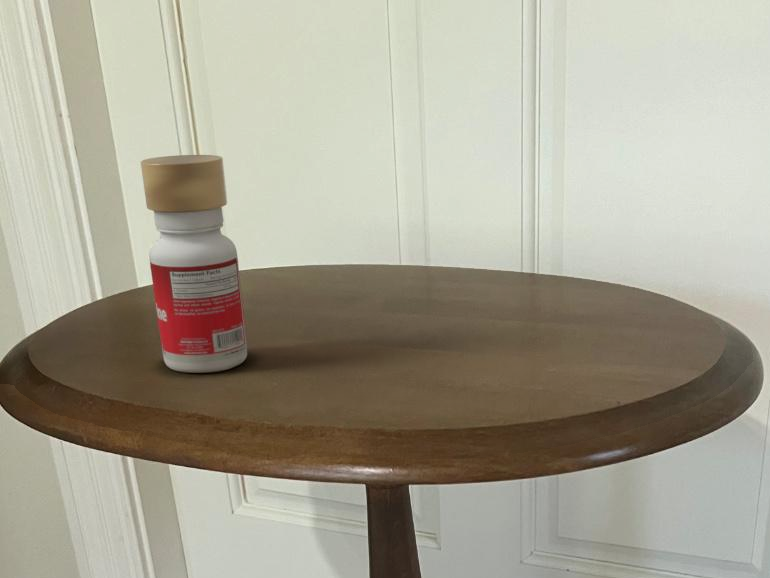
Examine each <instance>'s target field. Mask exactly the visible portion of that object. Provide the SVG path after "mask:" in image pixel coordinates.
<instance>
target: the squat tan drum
mask: <svg viewBox="0 0 770 578" xmlns="http://www.w3.org/2000/svg"><path fill="white" fill-rule="evenodd" d="M140 167H141V168H140V169H141V175H142V181H143V190H144V196H145V205H146V209H147V210H149V211H153V212H154V211H160V212H188V211H200V210H208V209H214V208H219V207H222V208H223V207H225V206H227V204H228V196H227V187H226V185H227V184H226V178H225V177H226V175H225V168H224V167H225V166H224V159H223V157H222V156H220V155H215V154H180V155H179V154H178V155H165V156H158V157H149V158H146V159H145V158H144V159H143V160H141V161H140Z"/></svg>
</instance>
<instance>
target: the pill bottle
mask: <svg viewBox="0 0 770 578" xmlns="http://www.w3.org/2000/svg"><path fill="white" fill-rule="evenodd" d="M153 218H154V225H155V227H156V228H155V229H156V231H157V232H159V234H160V237H159V238H158V239H157V240H155V241H154V242H153V244H152V245H151V247H150V248H149V253H148V257H149V268H150V274H151V280H152V287H153V288H152V289H153V294H154V301H155V308H156V313H157V314H156V316H157V323H158V329H159V336H160V337H159V338H160V344H161V350H162V351H161V352H162V357H163V361H164V364H165V366H167V368H169V369H171V370H173V371H175V372H180V373H189V374H203V373H204V374H206V373H217V372H223V371H226V370H230V369H233V368H235V367H237V366H239V365H241V364H242V363H244V361H245V360H246V359H247V357H248V344H247V333H246V326H245V318H244V308H243V298H242V297H243V296H242V288H241V278H240V268H239V258H238V257H239V256H238V252H237V251H238V250H237V246H236V244H235V243H234V241H233V240H232V239H230V238H229V237H227V236H226V235H224V234H222V231H221V229H222V228H223V227H224V216H223V206H222V207H219V208H214V209H208V210H200V211H188V212H160V211H153Z"/></svg>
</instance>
